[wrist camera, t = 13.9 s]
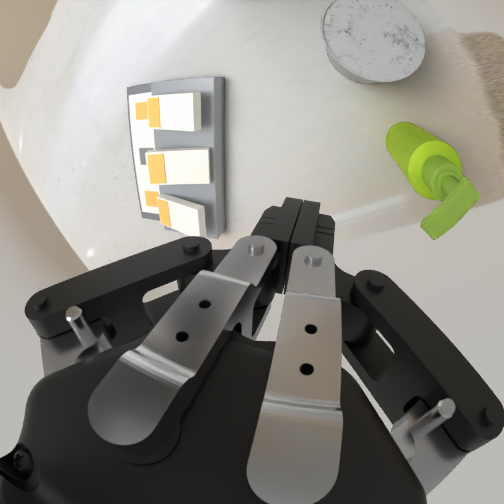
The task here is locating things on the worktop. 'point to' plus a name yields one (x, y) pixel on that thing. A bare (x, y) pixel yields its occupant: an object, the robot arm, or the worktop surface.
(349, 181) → the worktop surface
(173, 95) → the plate
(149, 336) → the robot arm
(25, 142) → the worktop surface
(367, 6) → the grey concrete cylinder
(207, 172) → the rocker middle
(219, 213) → the switch unit
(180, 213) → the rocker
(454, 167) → the soap dispenser
